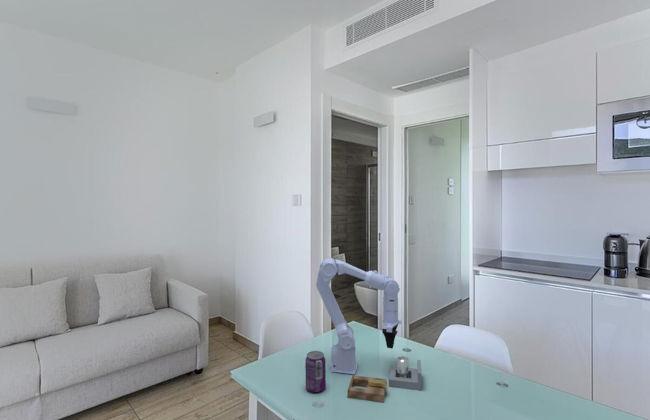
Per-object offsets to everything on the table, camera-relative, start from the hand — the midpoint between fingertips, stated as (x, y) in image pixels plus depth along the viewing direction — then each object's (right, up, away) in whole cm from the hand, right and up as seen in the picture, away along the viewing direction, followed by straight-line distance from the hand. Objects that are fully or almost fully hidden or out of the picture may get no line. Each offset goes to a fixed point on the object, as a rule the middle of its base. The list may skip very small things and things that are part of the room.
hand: (390, 343), depth 130 cm
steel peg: (+3, -10, -9) cm, 14 cm away
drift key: (-8, -7, -17) cm, 20 cm away
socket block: (-11, -10, -16) cm, 22 cm away
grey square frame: (+3, -10, -9) cm, 14 cm away
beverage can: (-29, -11, -13) cm, 34 cm away
